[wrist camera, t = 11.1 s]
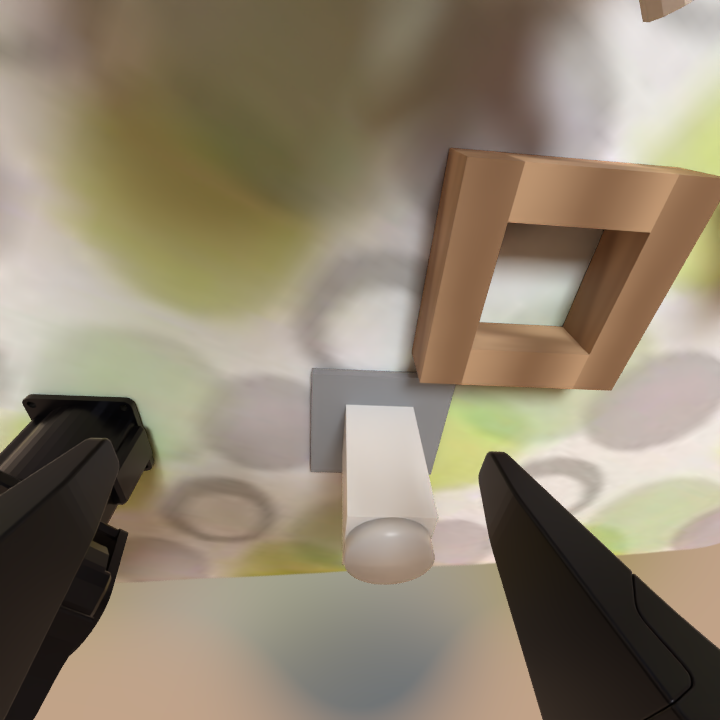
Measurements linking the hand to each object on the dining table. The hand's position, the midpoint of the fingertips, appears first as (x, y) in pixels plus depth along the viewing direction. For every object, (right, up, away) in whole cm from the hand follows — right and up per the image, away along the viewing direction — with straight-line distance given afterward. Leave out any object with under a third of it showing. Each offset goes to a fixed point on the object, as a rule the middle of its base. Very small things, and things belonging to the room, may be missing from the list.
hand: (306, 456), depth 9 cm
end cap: (+2, -2, +17) cm, 17 cm away
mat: (+2, -2, +17) cm, 18 cm away
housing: (+10, +7, +11) cm, 17 cm away
